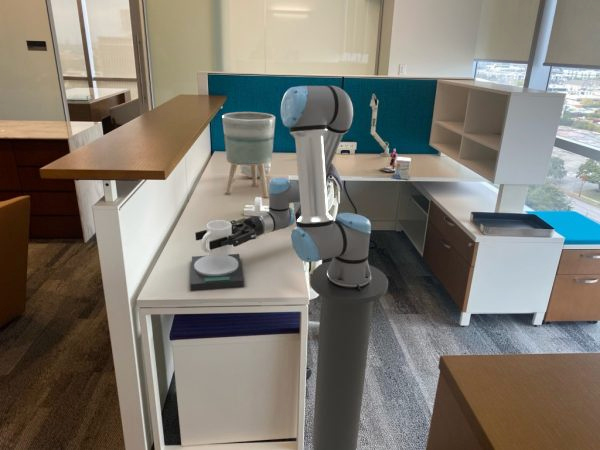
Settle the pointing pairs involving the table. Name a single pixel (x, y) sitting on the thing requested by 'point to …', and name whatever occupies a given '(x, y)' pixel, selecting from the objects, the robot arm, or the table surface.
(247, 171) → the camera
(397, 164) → the ink box
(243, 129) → the planter
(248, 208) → the slotted bracket
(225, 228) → the mug
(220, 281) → the scale
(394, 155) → the statue
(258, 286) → the table surface
